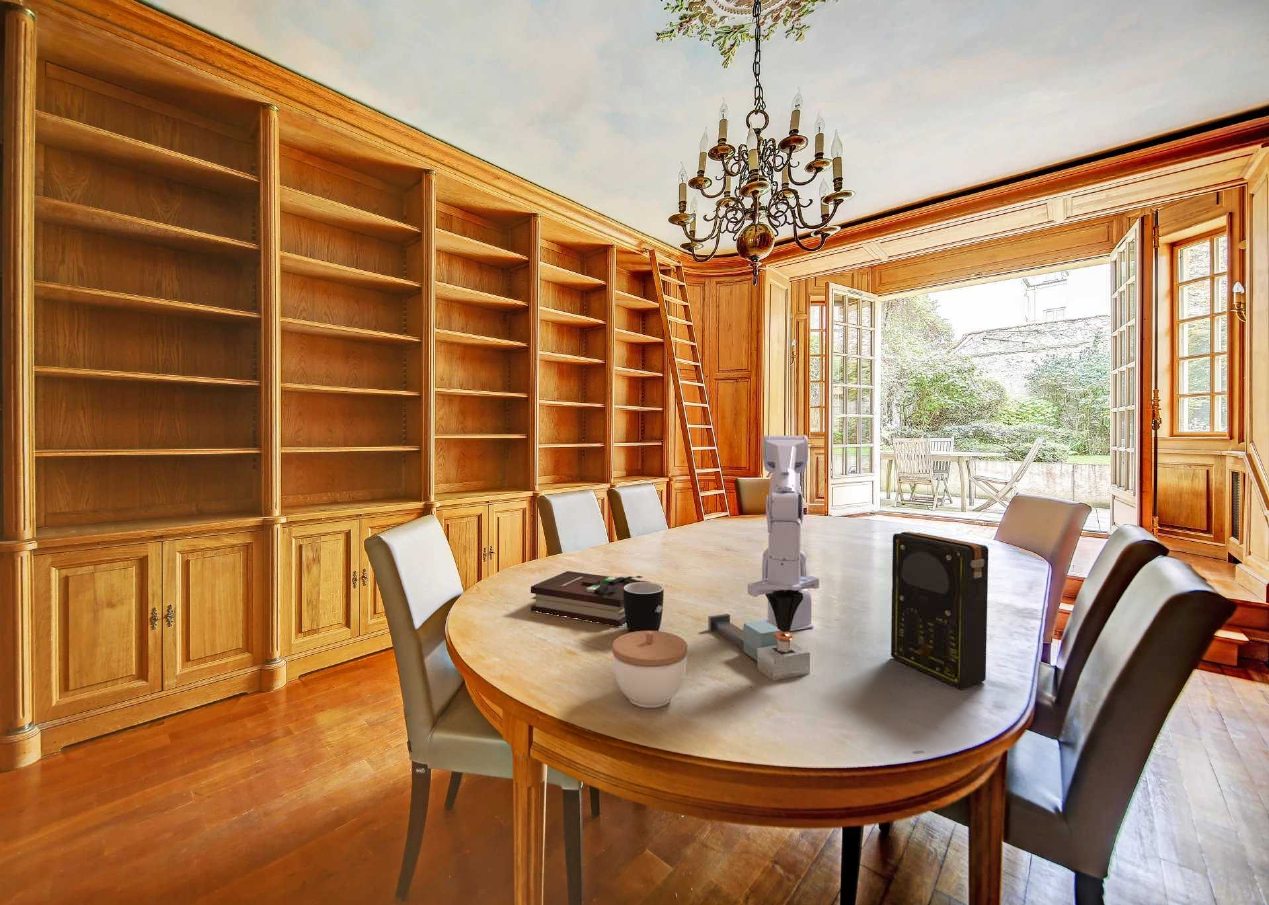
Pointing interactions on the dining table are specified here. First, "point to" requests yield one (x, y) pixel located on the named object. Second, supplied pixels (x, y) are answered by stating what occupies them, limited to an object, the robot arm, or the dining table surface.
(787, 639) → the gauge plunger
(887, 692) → the dining table surface
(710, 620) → the rail
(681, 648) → the lidded bowl
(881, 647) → the dining table surface
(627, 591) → the mug
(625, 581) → the decorative book
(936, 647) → the voltmeter
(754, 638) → the carriage
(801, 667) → the grey rectangular block
